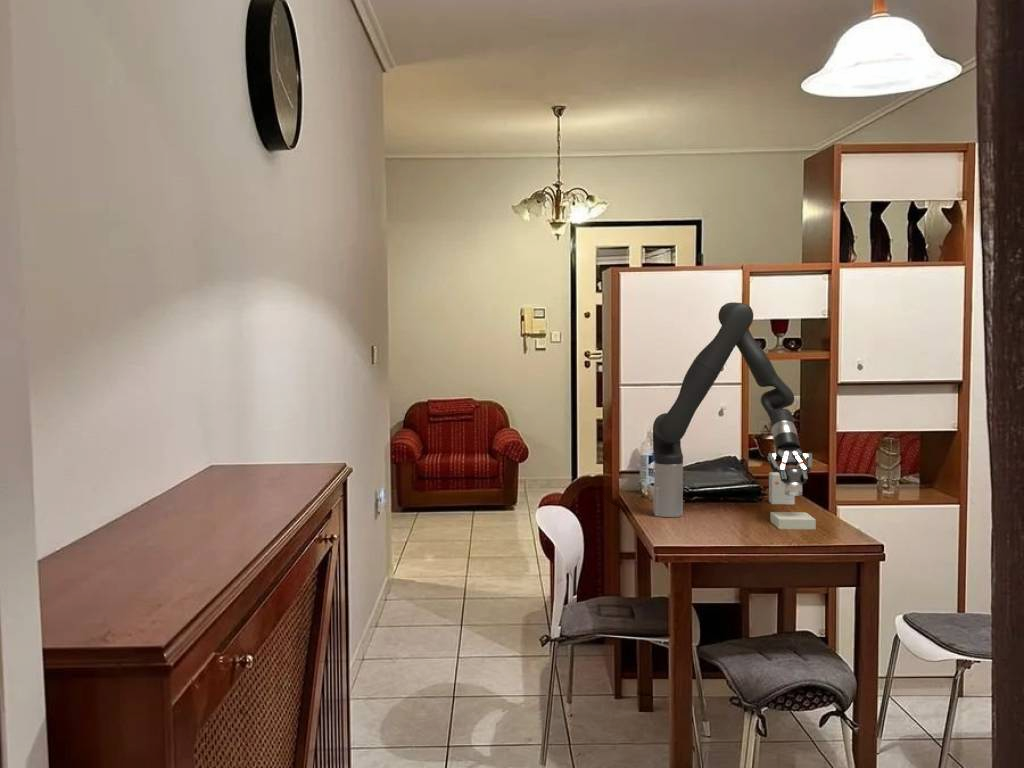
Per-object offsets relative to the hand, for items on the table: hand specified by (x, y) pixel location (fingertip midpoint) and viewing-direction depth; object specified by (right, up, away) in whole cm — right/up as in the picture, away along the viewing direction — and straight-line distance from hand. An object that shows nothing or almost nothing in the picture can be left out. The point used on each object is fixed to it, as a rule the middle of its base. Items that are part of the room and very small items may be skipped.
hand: (795, 481), depth 278 cm
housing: (0, -4, +2) cm, 5 cm away
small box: (+7, -12, +39) cm, 41 cm away
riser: (0, -14, +3) cm, 14 cm away
